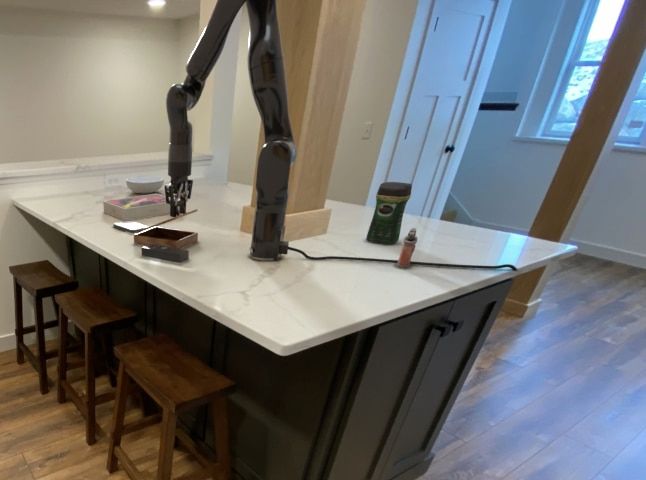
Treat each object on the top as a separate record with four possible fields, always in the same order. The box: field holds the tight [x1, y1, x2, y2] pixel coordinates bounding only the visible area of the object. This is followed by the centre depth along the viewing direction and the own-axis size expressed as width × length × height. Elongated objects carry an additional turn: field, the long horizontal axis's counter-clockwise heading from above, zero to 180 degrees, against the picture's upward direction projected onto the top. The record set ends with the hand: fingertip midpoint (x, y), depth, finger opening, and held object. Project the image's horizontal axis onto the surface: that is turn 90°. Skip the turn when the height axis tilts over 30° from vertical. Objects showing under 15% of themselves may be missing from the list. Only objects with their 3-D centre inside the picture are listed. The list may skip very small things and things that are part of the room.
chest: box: [133, 226, 199, 249], centre depth 158 cm, size 18×14×4 cm
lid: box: [133, 199, 199, 235], centre depth 154 cm, size 19×14×5 cm
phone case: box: [113, 220, 150, 234], centre depth 178 cm, size 9×2×16 cm
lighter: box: [396, 227, 419, 270], centre depth 128 cm, size 8×3×10 cm, turn 148°
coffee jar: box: [365, 181, 413, 245], centre depth 146 cm, size 10×8×19 cm
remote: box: [141, 244, 190, 264], centre depth 143 cm, size 15×5×4 cm, turn 52°
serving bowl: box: [125, 175, 165, 195], centre depth 244 cm, size 21×21×7 cm
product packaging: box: [102, 193, 179, 222], centre depth 203 cm, size 22×28×5 cm
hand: (178, 214), depth 150 cm, fingers closed on lid, 5 cm apart
